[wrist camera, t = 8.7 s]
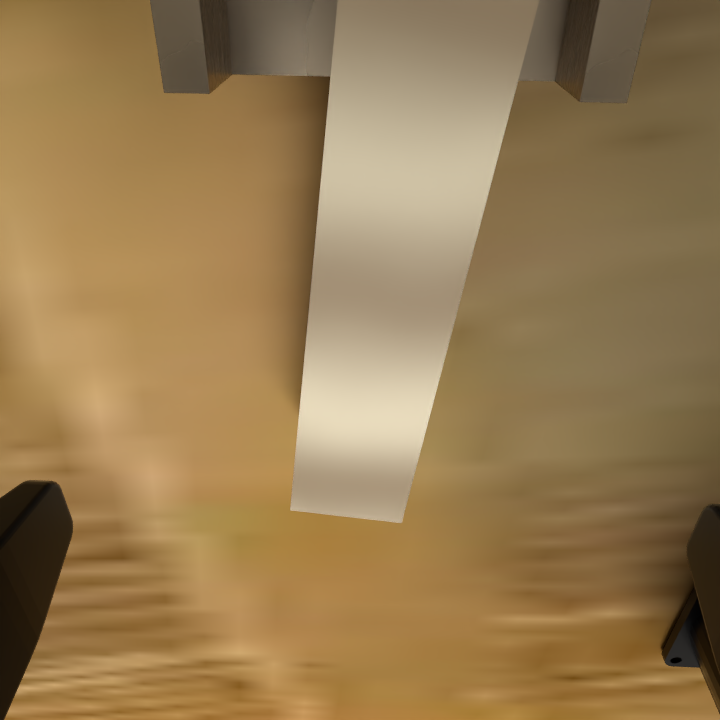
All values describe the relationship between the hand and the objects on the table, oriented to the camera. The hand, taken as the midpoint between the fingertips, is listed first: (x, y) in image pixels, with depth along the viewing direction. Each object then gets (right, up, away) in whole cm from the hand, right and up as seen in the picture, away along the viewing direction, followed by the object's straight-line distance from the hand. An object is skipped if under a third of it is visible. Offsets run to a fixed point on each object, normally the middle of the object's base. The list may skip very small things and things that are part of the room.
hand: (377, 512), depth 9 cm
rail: (+1, +6, +9) cm, 11 cm away
